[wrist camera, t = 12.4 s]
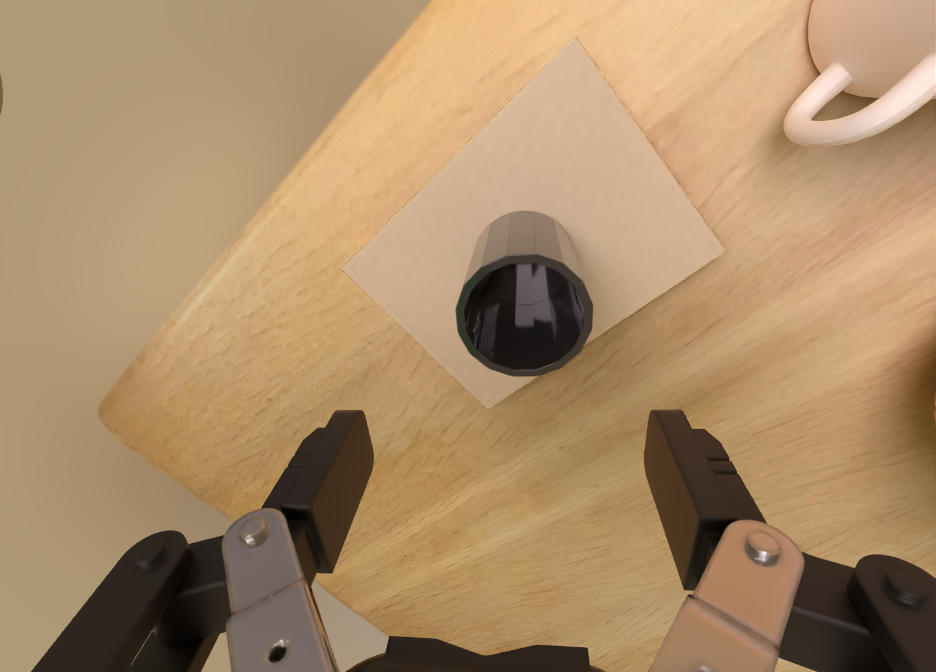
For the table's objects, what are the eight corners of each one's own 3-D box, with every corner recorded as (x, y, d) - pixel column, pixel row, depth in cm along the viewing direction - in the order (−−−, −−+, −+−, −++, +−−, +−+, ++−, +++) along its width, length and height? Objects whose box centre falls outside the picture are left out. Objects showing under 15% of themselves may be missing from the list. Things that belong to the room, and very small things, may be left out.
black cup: (476, 308, 29) (461, 377, 22) (469, 213, 26) (449, 257, 19) (573, 305, 28) (590, 376, 21) (576, 207, 25) (596, 250, 18)
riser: (490, 387, 35) (487, 410, 33) (355, 254, 31) (340, 269, 29) (707, 237, 28) (726, 251, 26) (569, 41, 24) (575, 35, 22)
